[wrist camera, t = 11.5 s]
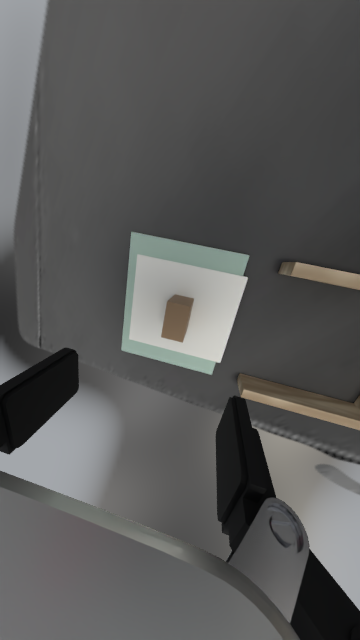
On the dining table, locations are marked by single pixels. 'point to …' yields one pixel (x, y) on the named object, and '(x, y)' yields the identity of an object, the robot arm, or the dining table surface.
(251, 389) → the open-sided wooden frame
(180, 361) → the sage mat
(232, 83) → the dining table surface
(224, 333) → the cover plate
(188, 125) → the dining table surface
